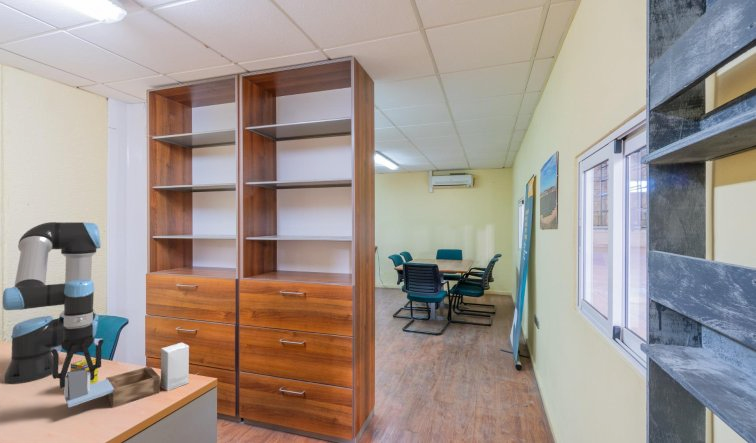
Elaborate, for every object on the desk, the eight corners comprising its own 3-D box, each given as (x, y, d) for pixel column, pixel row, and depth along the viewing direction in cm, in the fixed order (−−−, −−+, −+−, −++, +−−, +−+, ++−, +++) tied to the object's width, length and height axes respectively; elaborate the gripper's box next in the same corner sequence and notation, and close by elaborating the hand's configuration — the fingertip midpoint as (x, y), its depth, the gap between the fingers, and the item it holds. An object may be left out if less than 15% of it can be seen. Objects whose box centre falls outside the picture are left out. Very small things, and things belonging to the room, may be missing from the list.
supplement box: (81, 394, 123) (82, 365, 124) (69, 392, 125) (69, 363, 125) (98, 386, 129) (98, 359, 129) (85, 385, 130) (86, 357, 131)
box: (149, 381, 134) (150, 366, 134) (159, 392, 126) (159, 376, 126) (105, 394, 124) (106, 377, 124) (112, 407, 115) (113, 389, 115)
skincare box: (181, 378, 137) (182, 341, 137) (189, 383, 133) (190, 345, 133) (159, 386, 130) (160, 347, 130) (166, 392, 126) (167, 351, 127)
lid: (107, 381, 124) (106, 358, 123) (114, 391, 116) (113, 366, 116) (64, 395, 114) (62, 370, 114) (68, 407, 107) (66, 380, 107)
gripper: (42, 334, 104) (40, 407, 104) (113, 322, 117) (112, 387, 117) (40, 329, 109) (38, 399, 109) (109, 317, 122) (107, 380, 122)
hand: (77, 392), depth 113 cm, fingers open, 5 cm apart
